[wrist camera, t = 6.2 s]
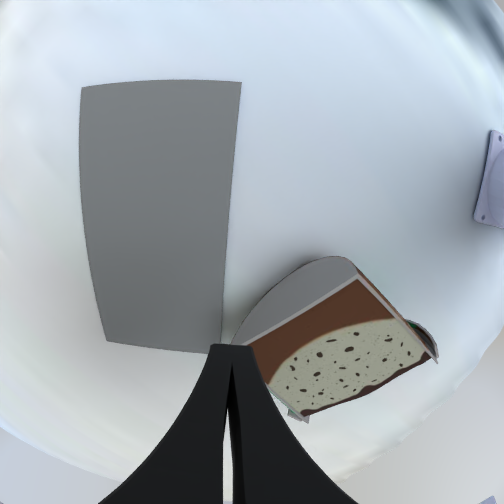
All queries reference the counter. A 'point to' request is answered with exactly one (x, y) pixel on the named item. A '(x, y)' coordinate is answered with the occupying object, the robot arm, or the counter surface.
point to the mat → (158, 207)
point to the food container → (330, 338)
